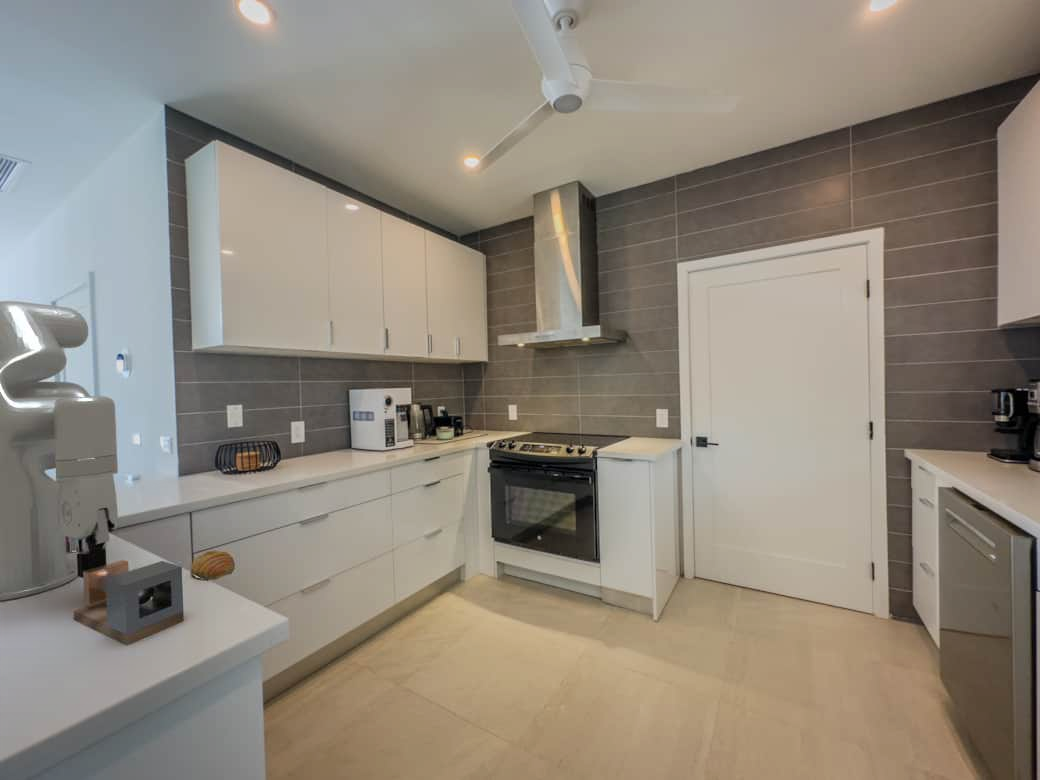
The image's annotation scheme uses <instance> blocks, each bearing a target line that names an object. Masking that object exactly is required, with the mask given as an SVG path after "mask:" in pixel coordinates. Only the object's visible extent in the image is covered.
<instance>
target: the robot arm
mask: <svg viewBox="0 0 1040 780" xmlns="http://www.w3.org/2000/svg"><path fill="white" fill-rule="evenodd" d="M88 326H89V325H88V323H87V321H86V319H85V318H84V316H83V315H82V314H81V313H80V312H79V311H77V310H75V309H73V308H70V307H67V306H65V307H64V306H57V305H49V304H41V303H32V302H25V301H16V300H3V301H0V601H7V600H13V599H18V598H22V597H28V596H32V595H35V594H38V593H42V592H45V591H48V590H52V589H54V588H57V587H60V586H62V585H65V584H67V583H69V582H72V581H73V580H74V579H77V577H78V578H82V579H83V571H86V570H89V569H93V568H96V567H100V566H103V565H107V550H106V549H107V543H108V542H109V541H110V533H112V532H114V531H115V530H116V529H117V528H118V521H119V520H118V518H119V517H118V516H119V515H118V512H119V511H118V503H117V492H116V485H115V479H114V475H116V474H118V473H119V471H118V470H119V466H118V446H117V445H118V444H117V422H116V419H117V418H116V406H115V402H114V400H113V399H112V398H111V397H108V396H102V395H96V396H95V395H94V396H91V395H90V393H89V391H87V389H85V387H83V386H81V385H79V384H77V383H74V382H68V381H45V380H48V379H50V378H52V377H55V376H56V375H58V374H59V373H61V372H62V371H63V370H64V369H65V368H66V365H67V356H66V354H65V352H64V351H63V350H64V349H75V348H79V347H81V346H83V345H84V343H86V341H87V340H88V336H89V327H88ZM54 469H55V479H54V478H52V477H51V476H50V475H48V474H47V473H46V472H45V471H49V470H54ZM57 480H58V481H60V484H59V483H57V482H56V481H57ZM66 536H67V537H71V538H75V544H76V551H77V552H76V567H77V568H76V567H74V566H73V567H72V566H67V565H68V564H67V563H68V561H67V559H68V558H67V551H66Z"/></svg>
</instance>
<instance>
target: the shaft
mask: <svg viewBox="0 0 1040 780" xmlns="http://www.w3.org/2000/svg"><path fill="white" fill-rule="evenodd" d="M129 569H130V568H129V561H128V560H125V559H121V560H117V561H113V562H110V563H106V565H103V566H100V567H96V568H93V569H89V570H86V571H83V578H82V579H83V601H84V602H83V603H85V604H87V605H89V604H92V603H95V602H98V601H101V600H104V599H106V578H109V577H112V576H116V575H119V574H122V573H125V572H128V571H130V570H129ZM153 594H154V587H153V586H152V587H149V588H147V589H144V590H141V591H138V595H139V605H141V604H144V603H146V602H147V601H148V600H150V599H152V596H153Z"/></svg>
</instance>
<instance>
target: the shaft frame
mask: <svg viewBox="0 0 1040 780" xmlns="http://www.w3.org/2000/svg"><path fill="white" fill-rule="evenodd" d="M182 567H183V566H181V565H177V564H174V563H171V562H167V561H163V560H161V561H158V562H154V563H152V564H148V565H144V566H142V567H139V568H135V569H132V570H129V571H128V572H125V573H122V574H119V575H116V576H112V577H109V578H106V599H104V600H101V601H98V602H95V603H92V604H87V605H84V606H81V607H78V608H76V609H73V620H75V621H77V622H78V623H81V624H82V625H85V626H86V627H88V628H91V629H93V630H95V631H97V632H99V633H101V634H103V635H105V636H107V637H109V636H110V637H109V638H111V637H112V638H111V639H113V638H114V639H113V640H115V639H116V641H117V642H119V641H120V642H119V643H122V644H123V645H125V646H128V645H131V644H133V643H136V642H139V640H142V639H145V638H147V637H149V636H151V635H154V634H156V633H159V632H161V631H163V630H166V629H169V628H170V627H173V626H175V625H177V624H180V623H182V622H184V621H185V620H184V618H185V616H184V593H183V592H184V590H183V589H184V588H183V568H182ZM152 586H153V587H154V594H153V596H152V597H151V599H150V600H148V601H147V602H146V603H144V604H141V605H139V595H138V591H141V590H144V589H147V588H149V587H152Z"/></svg>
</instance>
